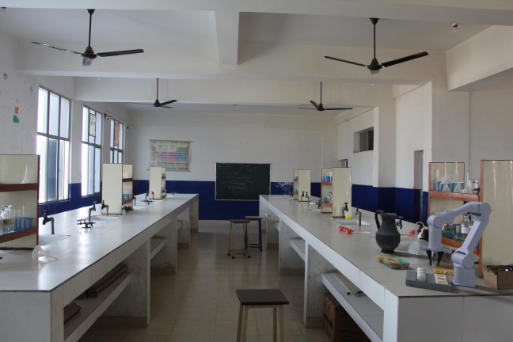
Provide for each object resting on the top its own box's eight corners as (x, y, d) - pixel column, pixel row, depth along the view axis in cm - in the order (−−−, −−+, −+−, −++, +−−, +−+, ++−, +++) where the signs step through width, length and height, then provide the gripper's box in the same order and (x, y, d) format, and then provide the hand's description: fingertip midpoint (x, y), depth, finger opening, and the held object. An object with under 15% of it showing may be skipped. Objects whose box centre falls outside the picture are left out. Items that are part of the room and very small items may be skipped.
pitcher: (388, 255, 245) (389, 212, 246) (366, 249, 264) (367, 209, 264) (405, 253, 254) (406, 212, 254) (382, 248, 272) (383, 209, 272)
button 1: (425, 275, 190) (425, 268, 190) (425, 277, 186) (425, 269, 186) (416, 274, 191) (417, 267, 191) (416, 276, 188) (417, 268, 188)
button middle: (425, 278, 184) (425, 270, 184) (425, 280, 180) (425, 272, 180) (416, 277, 185) (417, 269, 186) (416, 279, 182) (417, 271, 182)
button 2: (425, 281, 178) (425, 273, 178) (425, 283, 174) (425, 275, 174) (416, 280, 180) (417, 272, 180) (416, 282, 176) (417, 274, 176)
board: (448, 281, 186) (448, 274, 187) (451, 292, 168) (451, 284, 168) (406, 275, 195) (407, 269, 195) (405, 285, 177) (405, 278, 177)
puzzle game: (390, 261, 209) (376, 254, 229) (390, 269, 209) (376, 261, 229) (409, 261, 210) (393, 254, 230) (409, 269, 210) (393, 261, 230)
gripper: (419, 238, 180) (418, 265, 180) (451, 241, 174) (451, 269, 174) (419, 236, 186) (418, 262, 186) (450, 239, 180) (450, 266, 180)
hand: (434, 265), depth 180 cm, fingers open, 3 cm apart
